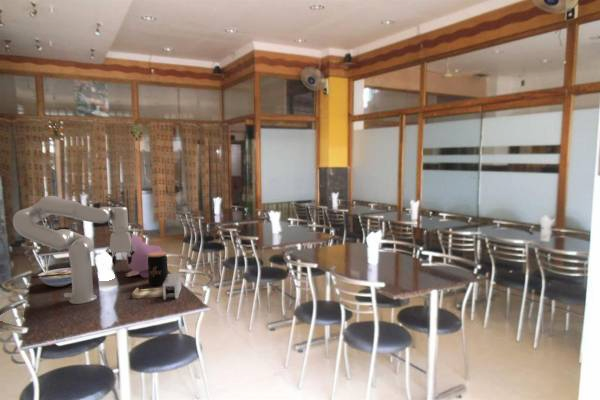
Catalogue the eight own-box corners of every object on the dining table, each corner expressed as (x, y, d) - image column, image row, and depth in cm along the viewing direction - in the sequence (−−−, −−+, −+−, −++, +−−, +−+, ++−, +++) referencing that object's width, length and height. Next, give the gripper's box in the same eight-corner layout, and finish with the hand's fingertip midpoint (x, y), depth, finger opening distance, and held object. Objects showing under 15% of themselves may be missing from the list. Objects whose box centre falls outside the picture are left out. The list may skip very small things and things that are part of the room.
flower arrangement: (123, 277, 277) (111, 237, 273) (158, 265, 289) (147, 226, 286) (133, 285, 247) (120, 239, 244) (172, 271, 259) (160, 227, 256)
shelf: (163, 299, 216) (162, 284, 216) (168, 288, 236) (168, 273, 235) (177, 298, 218) (176, 283, 217) (181, 287, 237) (181, 273, 236)
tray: (132, 298, 219) (132, 293, 218) (136, 292, 228) (136, 287, 228) (162, 296, 221) (162, 291, 221) (165, 291, 231) (165, 286, 231)
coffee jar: (144, 285, 242) (143, 254, 240) (157, 280, 252) (156, 251, 250) (159, 287, 238) (158, 256, 236) (172, 282, 248) (170, 252, 246)
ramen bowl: (88, 277, 260) (87, 264, 259) (81, 288, 238) (80, 274, 237) (42, 282, 252) (41, 268, 251) (31, 293, 230) (30, 278, 230)
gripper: (100, 232, 214) (102, 266, 216) (136, 231, 217) (138, 264, 219) (104, 230, 221) (106, 263, 223) (139, 228, 224) (141, 261, 226)
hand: (122, 263), depth 221 cm, fingers open, 6 cm apart
